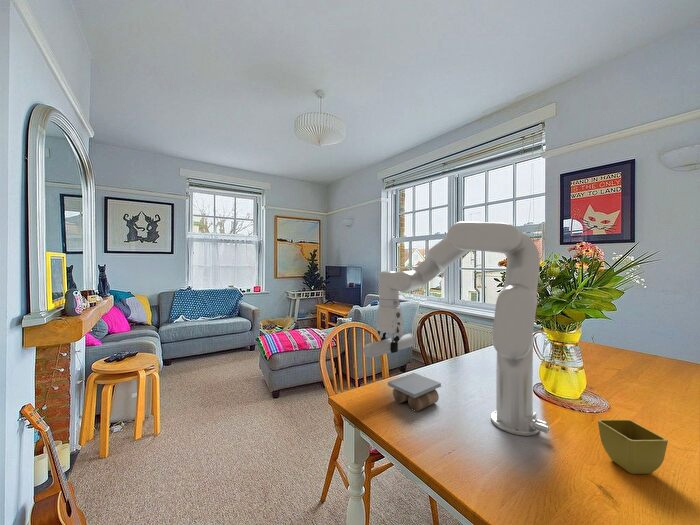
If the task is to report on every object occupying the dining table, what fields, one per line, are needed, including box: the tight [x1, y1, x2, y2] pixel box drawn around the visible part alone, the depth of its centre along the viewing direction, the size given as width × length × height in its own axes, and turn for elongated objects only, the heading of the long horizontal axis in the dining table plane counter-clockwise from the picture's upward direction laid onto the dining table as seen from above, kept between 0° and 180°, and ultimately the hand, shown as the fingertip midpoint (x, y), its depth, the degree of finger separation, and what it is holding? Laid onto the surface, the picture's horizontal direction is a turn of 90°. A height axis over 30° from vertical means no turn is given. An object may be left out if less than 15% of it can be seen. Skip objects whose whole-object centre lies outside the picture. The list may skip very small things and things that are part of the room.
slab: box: [387, 372, 442, 398], centre depth 100 cm, size 12×14×1 cm
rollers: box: [392, 388, 440, 412], centre depth 100 cm, size 12×10×5 cm
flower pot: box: [597, 418, 669, 475], centre depth 68 cm, size 9×9×9 cm
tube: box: [362, 332, 416, 359], centre depth 110 cm, size 5×5×25 cm
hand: (389, 349), depth 110 cm, fingers closed on tube, 4 cm apart
